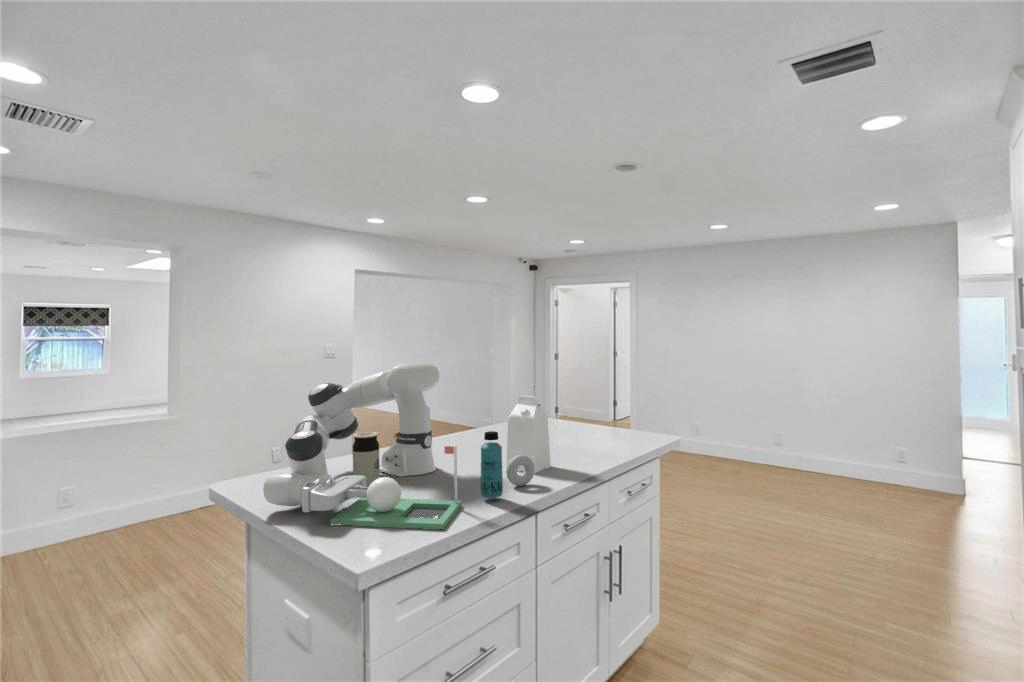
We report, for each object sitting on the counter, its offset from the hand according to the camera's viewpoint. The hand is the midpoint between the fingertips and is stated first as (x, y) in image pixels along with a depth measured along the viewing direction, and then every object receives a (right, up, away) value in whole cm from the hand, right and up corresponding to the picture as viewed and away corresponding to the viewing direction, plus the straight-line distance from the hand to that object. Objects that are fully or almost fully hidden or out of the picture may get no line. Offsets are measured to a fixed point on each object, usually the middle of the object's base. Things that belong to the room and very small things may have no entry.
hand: (367, 492), depth 137 cm
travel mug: (-6, -6, +22) cm, 24 cm away
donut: (+42, -6, +25) cm, 49 cm away
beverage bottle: (+33, -6, +11) cm, 36 cm away
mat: (+9, -6, 0) cm, 11 cm away
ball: (+5, 0, -1) cm, 5 cm away
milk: (+45, -5, +47) cm, 65 cm away
